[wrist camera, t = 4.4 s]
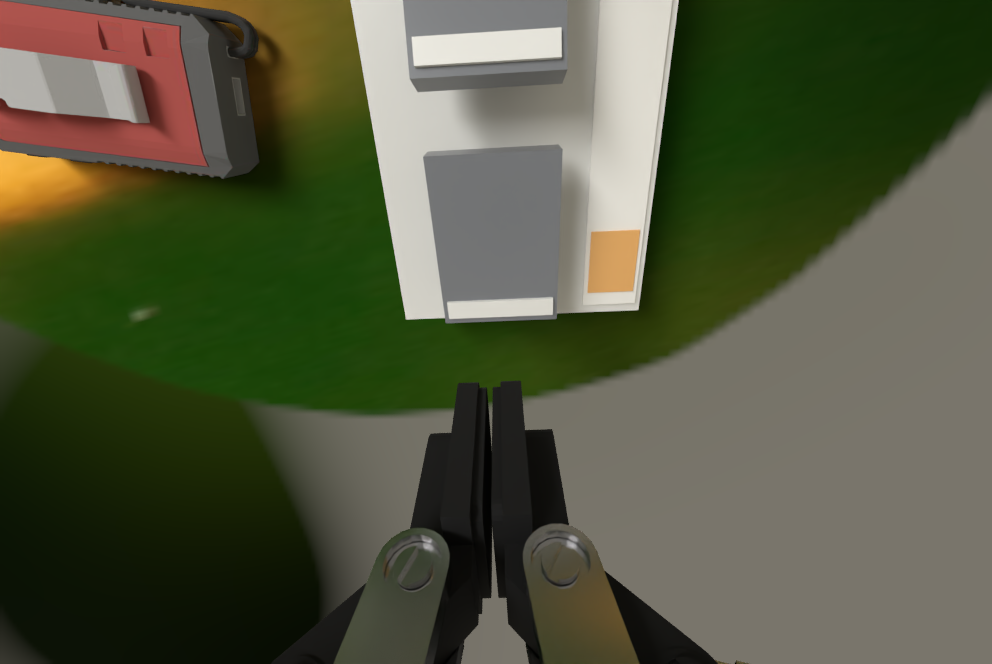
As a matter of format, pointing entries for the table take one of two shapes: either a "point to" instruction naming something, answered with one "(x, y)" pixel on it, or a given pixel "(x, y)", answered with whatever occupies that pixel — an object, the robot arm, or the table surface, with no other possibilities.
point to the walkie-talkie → (127, 85)
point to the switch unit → (534, 144)
